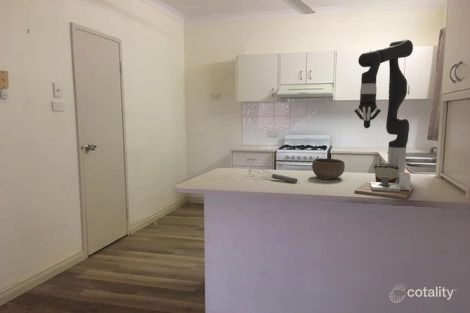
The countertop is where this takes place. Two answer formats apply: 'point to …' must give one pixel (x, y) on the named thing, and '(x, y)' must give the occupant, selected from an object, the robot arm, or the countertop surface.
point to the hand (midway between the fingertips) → (366, 128)
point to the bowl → (328, 168)
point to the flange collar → (394, 184)
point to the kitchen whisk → (278, 177)
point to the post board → (385, 179)
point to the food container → (386, 172)
